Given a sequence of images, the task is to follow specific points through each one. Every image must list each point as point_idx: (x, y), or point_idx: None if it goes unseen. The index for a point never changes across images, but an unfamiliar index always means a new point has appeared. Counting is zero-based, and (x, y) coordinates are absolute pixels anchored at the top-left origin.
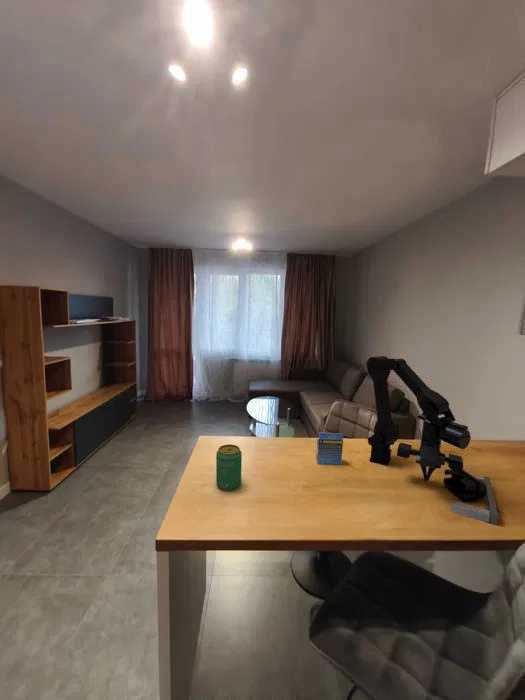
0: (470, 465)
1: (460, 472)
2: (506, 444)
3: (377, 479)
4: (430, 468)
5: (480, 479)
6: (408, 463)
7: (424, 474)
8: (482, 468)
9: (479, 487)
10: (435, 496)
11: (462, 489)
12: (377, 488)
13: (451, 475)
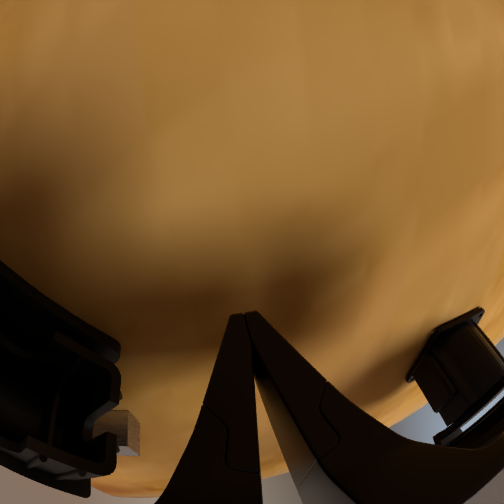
0: (129, 466)
1: (25, 463)
2: (123, 495)
3: (500, 167)
4: (242, 486)
5: None
6: None
7: (287, 361)
8: None
9: None
10: (115, 156)
11: (4, 347)
12: (500, 66)
13: (128, 430)
